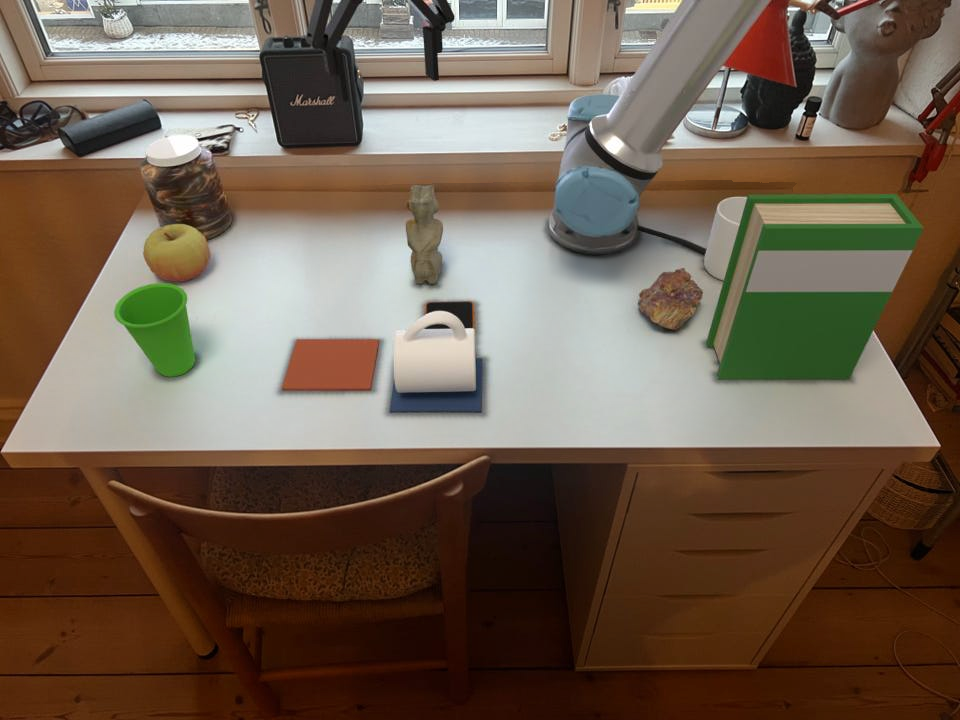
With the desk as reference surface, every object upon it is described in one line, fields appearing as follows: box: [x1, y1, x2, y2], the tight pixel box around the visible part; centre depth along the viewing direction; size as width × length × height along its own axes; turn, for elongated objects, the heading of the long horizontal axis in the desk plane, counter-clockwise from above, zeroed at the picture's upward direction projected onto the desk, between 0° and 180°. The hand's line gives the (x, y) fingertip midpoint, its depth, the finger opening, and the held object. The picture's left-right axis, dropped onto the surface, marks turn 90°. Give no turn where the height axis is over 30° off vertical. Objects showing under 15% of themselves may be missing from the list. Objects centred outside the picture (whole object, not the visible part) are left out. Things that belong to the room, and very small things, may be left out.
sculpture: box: [405, 184, 444, 285], centre depth 108 cm, size 6×7×15 cm
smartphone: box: [424, 300, 476, 331], centre depth 102 cm, size 8×17×1 cm, turn 1°
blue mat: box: [389, 357, 483, 413], centre depth 95 cm, size 12×10×1 cm
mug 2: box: [703, 196, 748, 282], centre depth 109 cm, size 9×12×11 cm
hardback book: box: [705, 193, 924, 381], centre depth 90 cm, size 18×7×24 cm, turn 89°
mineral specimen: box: [637, 267, 704, 331], centre depth 104 cm, size 12×8×7 cm
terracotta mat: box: [281, 338, 380, 391], centre depth 98 cm, size 12×10×1 cm
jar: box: [139, 135, 233, 241], centre depth 120 cm, size 12×12×15 cm
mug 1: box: [392, 311, 476, 393], centre depth 91 cm, size 8×10×12 cm
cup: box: [113, 282, 196, 378], centre depth 95 cm, size 9×9×11 cm
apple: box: [142, 224, 211, 283], centre depth 112 cm, size 10×10×8 cm
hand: (388, 87), depth 97 cm, fingers open, 13 cm apart
